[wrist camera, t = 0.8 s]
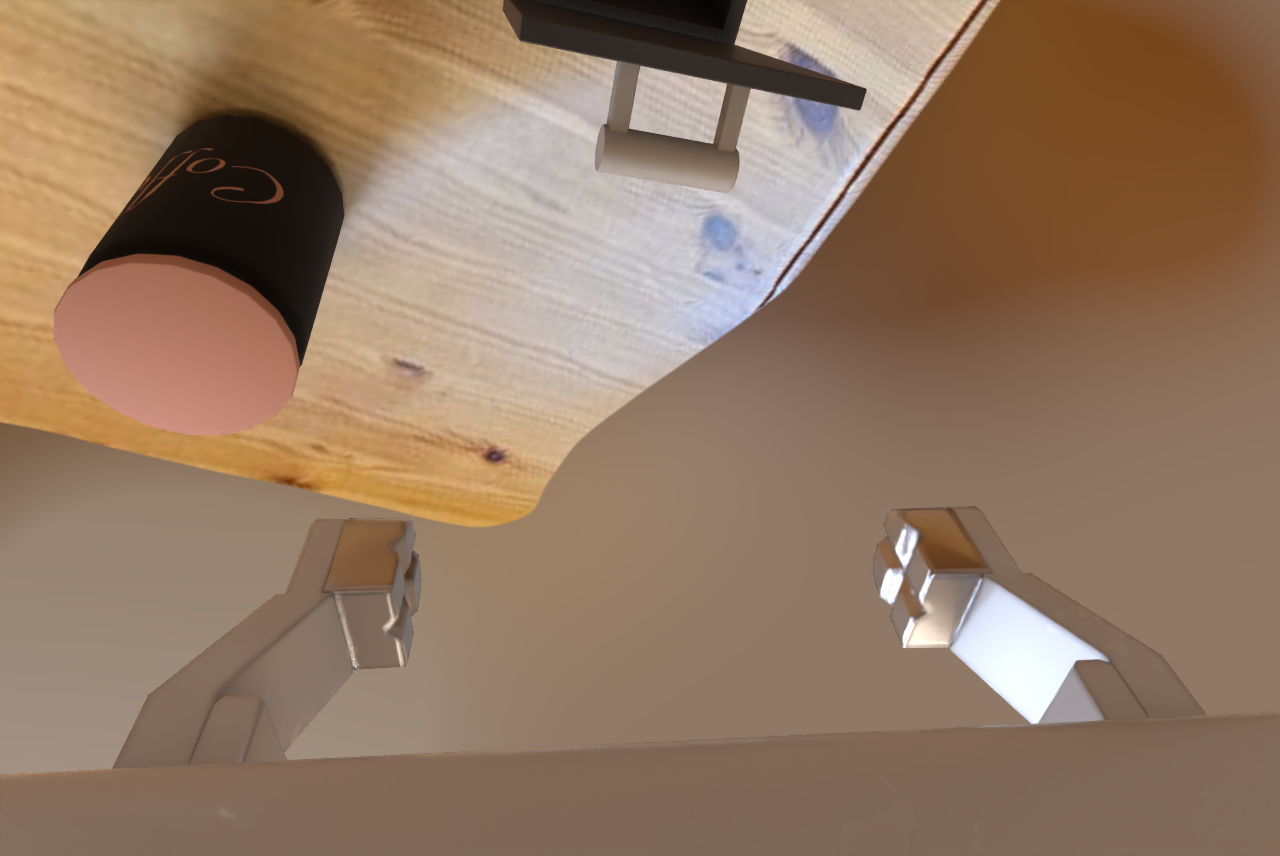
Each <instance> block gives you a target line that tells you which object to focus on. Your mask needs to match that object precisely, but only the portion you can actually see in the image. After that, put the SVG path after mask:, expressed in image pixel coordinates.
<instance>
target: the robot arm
mask: <svg viewBox="0 0 1280 856" xmlns="http://www.w3.org/2000/svg"><path fill="white" fill-rule="evenodd" d="M883 526H884V529H885V531H886V533H887V536H886V537H885V538H884V539H883V540H881V541H880V542H879V543H878V544H877V546H876V549H875V553H874V557H873V575H874V580H875V584H876V587H877V589H878V592H879V594H880V596H881V597H882V598H883V599H885V600H886V601H887V602H888V603H890V604H891V605H893V608H892V611H891V614H890V616H889V617H890V619H891V622H892V624H893V626H894V628H895V631H896V633H897V635H898V637H899V640H900V642H901V644H902V646H903V648H914V647H916V648H918V647H951V649H950V650H952V652H954V653H955V654H956V655H957V656H958V657H959V658H960V659H961V660H962V661H963V662H964V663H966V664H967V665H968V666H969V667H970V668H971V669H972V670H973V671H974V672H975V673H976V674H978V675H979V676H980V677H981V678H982V679H983V680H984V681H985V682H986V683H987V684H988V685H990V686H991V687H992V688H993V689H994V690H995V691H996V692H997V693H998V694H999V695H1001V696H1002V697H1003V698H1004V699H1005V700H1006V701H1007V702H1008V703H1009V704H1010V705H1012V706H1013V707H1014V708H1015V709H1016V710H1017V711H1018V712H1019V713H1020V714H1021V715H1022V716H1024V717H1025V718H1026V719H1027V720H1028V721H1029V722H1030V723H1031V724H1015V725H994V726H975V727H953V728H933V729H912V730H893V731H892V730H891V731H872V732H852V733H832V734H831V733H830V734H810V735H790V736H770V737H750V738H729V739H711V740H710V739H708V740H688V741H669V742H668V741H667V742H647V743H626V744H608V745H607V744H606V745H585V746H566V747H545V748H524V749H506V750H505V749H504V750H485V751H466V752H465V751H463V752H445V753H423V754H404V755H382V756H362V757H343V758H321V759H303V760H302V759H301V760H287V759H286V756H285V754H284V752H285V751H286V750H287V749H288V748H289V747H290V745H291V744H292V743H293V742H294V741H295V740H296V739H297V737H298V736H299V735H300V734H301V733H302V732H303V730H304V729H305V728H306V727H307V726H308V725H309V723H310V722H311V721H312V720H313V719H314V718H315V716H316V715H317V714H318V713H319V712H320V711H321V710H322V708H323V707H324V706H325V705H326V704H327V702H328V701H329V700H330V699H331V698H332V697H333V696H334V694H335V693H336V692H337V691H338V690H339V689H340V688H341V686H342V685H343V684H344V683H345V682H346V681H347V679H348V678H349V677H350V676H351V675H352V674H353V671H352V670H359V669H375V668H390V667H405V666H407V664H408V659H409V654H410V649H411V644H412V638H413V633H414V632H413V627H412V621H411V617H412V616H413V615H414V614H415V613H416V612H417V611H418V606H419V599H420V588H421V570H420V569H421V568H420V560H419V555H418V554H417V553H416V552H415V551H413V546H414V540H415V530H414V525H413V521H412V520H411V519H410V518H349V519H316V520H315V521H314V522H313V524H312V525H311V526H310V529H309V531H308V534H307V537H306V540H305V542H304V545H303V548H302V550H301V553H300V556H299V559H298V561H297V564H296V566H295V569H294V572H293V574H292V577H291V580H290V583H289V585H288V588H287V591H286V593H285V594H276V595H274V596H273V597H272V598H271V599H269V600H268V601H267V602H265V604H263V605H262V606H260V607H259V608H258V609H257V610H255V611H254V612H253V613H252V614H250V615H249V616H248V617H246V618H245V619H244V620H243V621H241V622H240V623H239V624H238V625H236V626H235V627H234V628H233V629H231V630H230V631H229V632H228V633H226V634H225V635H224V636H222V637H221V638H220V639H219V640H217V641H216V642H215V643H214V644H212V645H211V646H210V647H209V648H207V649H206V650H205V651H204V652H202V653H201V654H200V655H198V656H197V657H196V658H195V659H193V660H192V661H191V662H190V663H188V664H187V665H186V666H185V667H183V668H182V669H181V670H179V671H178V672H177V673H176V674H174V675H173V676H172V677H171V678H169V679H168V680H167V681H166V682H164V683H163V684H162V685H161V686H160V687H158V688H157V689H156V690H154V691H153V692H152V693H150V694H149V695H148V697H147V699H146V701H145V703H144V705H143V707H142V709H141V711H140V713H139V715H138V717H137V719H136V721H135V723H134V725H133V727H132V729H131V731H130V733H129V736H128V737H127V739H126V742H125V743H124V745H123V747H122V750H121V752H120V754H119V756H118V758H117V760H116V762H115V764H114V766H113V768H112V769H99V770H79V771H58V772H39V773H18V774H0V856H1280V712H1261V713H1240V714H1220V715H1207V714H1206V713H1205V711H1204V710H1203V709H1202V708H1201V706H1200V705H1199V703H1198V702H1197V701H1196V700H1195V698H1194V697H1193V696H1192V694H1191V693H1190V692H1189V690H1188V689H1187V688H1186V686H1185V685H1184V684H1183V683H1182V681H1181V680H1180V678H1179V677H1178V676H1177V674H1176V673H1175V672H1174V670H1173V669H1172V668H1171V667H1170V665H1169V664H1168V662H1167V661H1166V660H1165V658H1164V657H1163V656H1162V655H1161V654H1159V653H1158V652H1156V651H1154V650H1153V649H1151V648H1150V647H1148V646H1147V645H1145V644H1143V643H1142V642H1140V641H1138V640H1137V639H1135V638H1134V637H1132V636H1130V635H1129V634H1127V633H1126V632H1124V631H1123V630H1121V629H1119V628H1117V627H1116V626H1115V625H1113V624H1111V623H1110V622H1108V621H1107V620H1105V619H1103V618H1102V617H1100V616H1099V615H1097V614H1095V613H1094V612H1092V611H1090V610H1089V609H1087V608H1086V607H1084V606H1083V605H1081V604H1079V603H1078V602H1076V601H1075V600H1073V599H1071V598H1070V597H1068V596H1067V595H1065V594H1064V593H1062V592H1060V591H1059V590H1057V589H1056V588H1054V587H1052V586H1051V585H1049V584H1047V583H1046V582H1044V581H1043V580H1041V579H1040V578H1038V577H1036V576H1035V575H1033V574H1032V573H1022V571H1021V570H1020V569H1019V567H1018V566H1017V564H1016V562H1015V561H1014V559H1013V558H1012V556H1011V555H1010V553H1009V552H1008V550H1007V549H1006V547H1005V546H1004V544H1003V543H1002V541H1001V539H1000V538H999V537H998V535H997V534H996V532H995V530H994V529H993V527H992V526H991V524H990V523H989V521H988V520H987V518H986V517H985V515H984V514H983V512H982V511H981V510H980V509H979V508H977V507H975V506H968V507H947V508H909V509H891V510H890V512H889V513H888V514H887V516H886V518H885V521H884V524H883Z"/></svg>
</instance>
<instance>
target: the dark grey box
mask: <svg viewBox="0 0 1280 856" xmlns="http://www.w3.org/2000/svg"><path fill="white" fill-rule="evenodd" d="M532 1H536V2H541V3H545V4H550V5H555V6H559V7H564V8H568V9H573V10H577V11H582V12H587V13H591V14H596V15H600V16H605V17H609V18H614V19H619V20H623V21H628V22H632V23H637V24H641V25H646V26H651V27H655V28H660V29H664V30H669V31H673V32H678V33H683V34H687V35H692V36H696V37H701V38H705V39H710V40H715V41H719V42H724V43H728V44H733V45H734V44H735V40H736V37H737V34H738V30H739V27H740V23H741V20H742V16H743V13H744V10H745V6H746V3H747V0H532Z"/></svg>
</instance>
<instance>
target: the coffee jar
mask: <svg viewBox="0 0 1280 856" xmlns="http://www.w3.org/2000/svg"><path fill="white" fill-rule="evenodd" d="M343 218H344V210H343V202H342V194H341V191H340V188H339V186H338V184H337V182H336V180H335V178H334V176H333V174H332V172H331V169H330V168H329V166H328V165H327V164H326V163H325V162H324V161H323V159H322V158H321V157H320V156H319V155H318V154H317V153H316V151H315V150H314V149H313V148H312V147H311V146H310V145H309V144H308V143H306V142H305V141H303V140H302V139H300V138H299V137H297V136H296V135H294V134H293V133H291V132H290V131H289V130H287V129H286V128H283V127H280V126H278V125H275V124H272V123H270V122H267V121H264V120H261V119H259V118H253V117H242V116H230V115H224V116H219V117H215V118H211V119H206V120H202V121H198V122H196V123H195V124H193V125H192V126H190V127H189V128H188V129H186V130H185V131H183V132H182V133H180V134H179V135H177V137H176V138H175V139H174V141H173V142H172V143H171V145H170V146H169V148H168V149H167V150H166V152H165V153H164V154H163V156H162V157H161V159H160V160H159V161H158V163H157V164H156V165H155V167H154V168H153V170H152V171H151V172H150V174H149V175H148V176H147V178H146V179H145V181H144V182H143V183H142V185H141V186H140V187H139V189H138V190H137V192H136V193H135V194H134V196H133V197H132V198H131V200H130V201H129V203H128V204H127V205H126V207H125V208H124V209H123V211H122V212H121V214H120V215H119V216H118V218H117V219H116V220H115V222H114V223H113V225H112V226H111V227H110V229H109V230H108V231H107V233H106V234H105V236H104V237H103V238H102V240H101V241H100V242H99V244H98V245H97V247H96V248H95V249H94V251H93V252H92V253H91V255H90V256H89V258H88V260H87V262H86V263H85V265H84V267H83V268H82V270H81V272H80V274H79V275H78V277H77V278H76V279H75V280H74V281H73V282H72V283H71V284H70V285H69V286H68V287H67V289H66V291H65V293H64V294H63V296H62V298H61V300H60V301H59V303H58V305H57V307H56V308H55V310H54V341H55V343H56V345H57V347H58V350H59V352H60V354H61V356H62V359H63V361H64V363H65V365H66V367H67V369H68V370H69V371H70V372H71V373H72V374H73V375H74V376H75V377H76V379H77V380H78V381H79V382H80V383H81V384H82V385H83V386H84V387H85V389H86V390H87V391H88V392H89V393H90V394H92V395H93V396H95V397H96V398H98V399H99V400H101V401H102V402H104V403H105V404H107V405H108V406H110V407H111V408H112V409H114V410H115V411H117V412H118V413H120V414H123V415H125V416H128V417H130V418H132V419H135V420H137V421H139V422H142V423H144V424H147V425H149V426H151V427H155V428H159V429H164V430H169V431H173V432H178V433H183V434H188V435H224V434H229V433H233V432H238V431H242V430H247V429H252V428H254V427H255V426H257V425H259V424H261V423H263V422H265V421H266V420H268V419H270V418H272V417H274V416H275V415H277V413H278V412H279V411H280V410H281V409H282V407H283V406H284V405H285V404H286V403H287V401H288V400H289V399H290V398H291V397H292V395H293V392H294V388H295V384H296V380H297V376H298V372H299V367H300V366H301V365H302V362H303V359H304V355H305V352H306V348H307V345H308V342H309V338H310V335H311V331H312V328H313V324H314V321H315V317H316V314H317V310H318V307H319V303H320V300H321V297H322V293H323V290H324V286H325V283H326V279H327V276H328V272H329V269H330V265H331V262H332V258H333V255H334V251H335V248H336V245H337V241H338V238H339V234H340V230H341V226H342V222H343Z"/></svg>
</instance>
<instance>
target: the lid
mask: <svg viewBox="0 0 1280 856" xmlns="http://www.w3.org/2000/svg"><path fill="white" fill-rule="evenodd" d="M503 12H504V13H505V15H506V17H507V19H508V21H509V22H510V24H511V26H512V28H513V30H514V31H515V33H516V35H517V37H518V39H519V40H520V41H522V42H527V43H532V44H537V45H542V46H547V47H552V48H556V49H561V50H566V51H571V52H576V53H581V54H586V55H591V56H595V57H600V58H605V59H610V60H615V61H617V65H616V71H615V77H614V83H613V89H612V95H611V101H610V107H609V113H608V119H607V124H604V125H602V127H601V129H600V132H599V135H598V140H597V146H596V154H595V168H596V171H597V172H602V173H608V174H614V175H620V176H626V177H633V178H639V179H645V180H651V181H657V182H663V183H669V184H675V185H681V186H687V187H693V188H699V189H705V190H711V191H717V192H723V193H729V192H730V191H731V190H732V188H733V186H734V184H735V182H736V179H737V175H738V170H739V152H738V150H737V149H736V145H737V141H738V137H739V133H740V129H741V125H742V121H743V117H744V113H745V109H746V105H747V101H748V97H749V93H750V89H751V88H752V89H757V90H762V91H766V92H771V93H776V94H781V95H786V96H791V97H796V98H801V99H806V100H810V101H815V102H820V103H825V104H830V105H835V106H840V107H845V108H850V109H854V110H860V109H861V107H862V103H863V100H864V97H865V94H866V91H867V89H866V88H863V87H860V86H857V85H854V84H851V83H848V82H845V81H842V80H839V79H836V78H833V77H830V76H827V75H824V74H821V73H818V72H815V71H812V70H809V69H806V68H803V67H800V66H797V65H794V64H791V63H788V62H785V61H782V60H779V59H776V58H773V57H770V56H767V55H764V54H761V53H758V52H755V51H752V50H749V49H746V48H743V47H740V46H737V45H733V44H728V43H724V42H719V41H715V40H710V39H705V38H701V37H696V36H692V35H687V34H683V33H678V32H673V31H669V30H664V29H660V28H655V27H651V26H646V25H641V24H637V23H632V22H628V21H623V20H619V19H614V18H609V17H605V16H600V15H596V14H591V13H587V12H582V11H577V10H573V9H568V8H564V7H559V6H555V5H550V4H545V3H541V2H536V1H532V0H504V4H503ZM640 66H644V67H649V68H654V69H659V70H664V71H669V72H674V73H679V74H683V75H688V76H693V77H698V78H703V79H708V80H713V81H718V82H723V83H727V87H726V92H725V96H724V100H723V104H722V109H721V113H720V117H719V122H718V126H717V130H716V134H715V139H714V143H713V144H710V143H704V142H699V141H693V140H688V139H682V138H677V137H671V136H666V135H660V134H655V133H649V132H644V131H638V130H633V129H629V124H630V118H631V113H632V107H633V102H634V96H635V91H636V85H637V80H638V74H639V69H640Z"/></svg>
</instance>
